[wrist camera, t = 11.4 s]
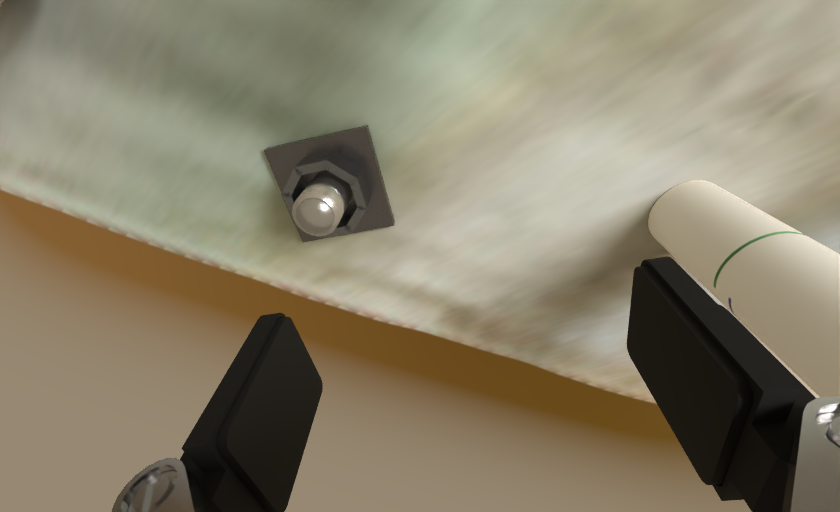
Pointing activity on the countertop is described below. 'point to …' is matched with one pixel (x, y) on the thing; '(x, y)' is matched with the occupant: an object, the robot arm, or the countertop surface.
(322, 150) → the grey peg base
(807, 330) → the cylindrical container
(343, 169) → the ring
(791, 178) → the countertop surface
